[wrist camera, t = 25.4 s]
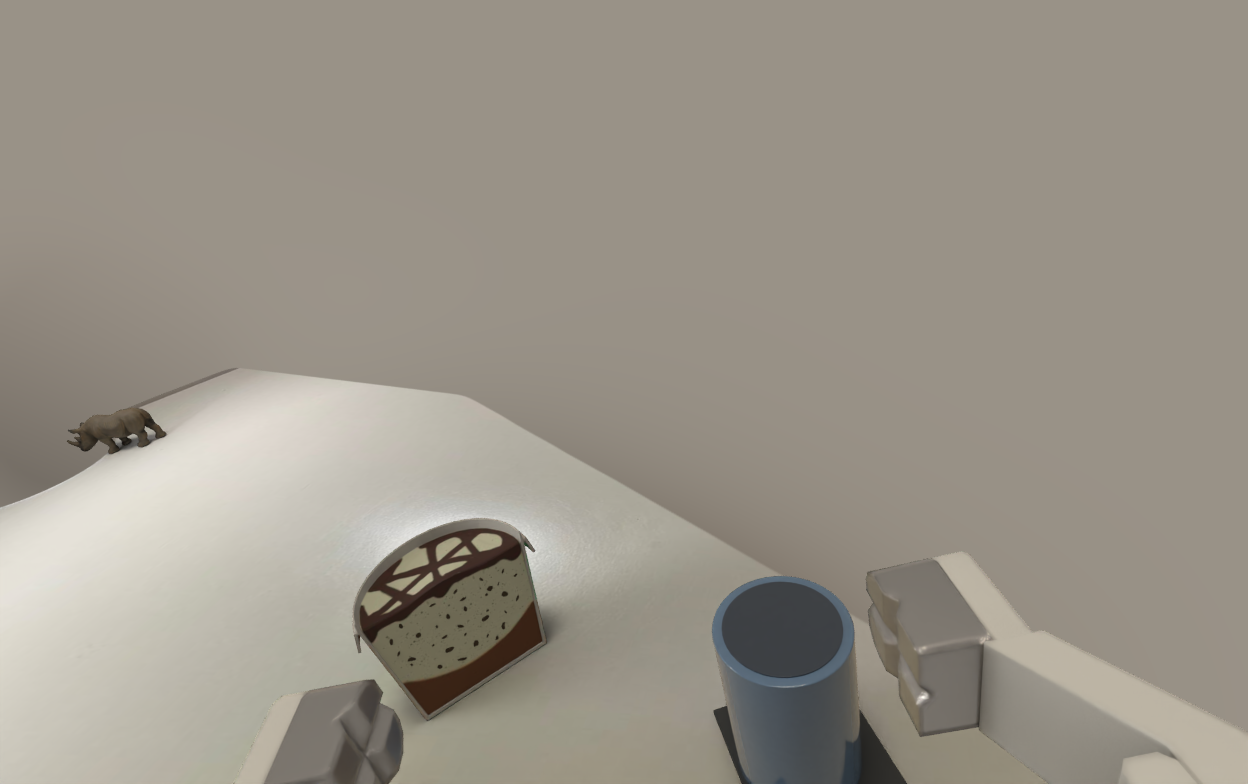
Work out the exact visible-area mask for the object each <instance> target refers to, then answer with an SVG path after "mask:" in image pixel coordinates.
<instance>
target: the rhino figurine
mask: <svg viewBox="0 0 1248 784" xmlns="http://www.w3.org/2000/svg"><path fill="white" fill-rule="evenodd" d="M145 426H146V427H148V428H150V429H152V430H154V431H155V432H156V435H155V437H156V438H160V437H163V436H164V435H165V434H166V432H164V431H163V430H162V429H161V428H160V426H159V425H157V424H156V423H155V422H154V420H153V419H152V417H151V416H150V414H149V413H148V412H147V411H145V410H143V409H139V408H129V409H123V410H119V411H117V412H116V413H114V414H111V415H95V416H92V417H90V418H89V419H88V420H87V421H86V422H85V423H80V428H78V429H74V430H68V431H69V432H70V433H73V434H75V433H78V434H79V435H80V437H75V439H76V440H77V441H78V442H72V441H69V440H68V441H67V442H68V443H69V444H71V445H74V446H77V447H79V448H81V450H82V451H88V450H90V449H91V448H92V447H93V446H94V445H95V444H96V443H97V441H98V440H100V441H101V442H103V443H105V444H107V445H108V446H109V447H110V449H109V451H108V453H109V454H112V453H114V452H116V451H118V450H119V447H118V446H117V445H116V444H115V442H114V441H113V439H112V438H119V439H120V440H121V441H122V445H126V444H128V443H129V442H131V439H130V438H127V436H129V435H131V434H136V435H137V436H138V438H139V443H138V447H143V446H145V445H147V444H149V443H150V441H149V440H148V439H147V432H146V431H145V430H144V429H145Z"/></svg>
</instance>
